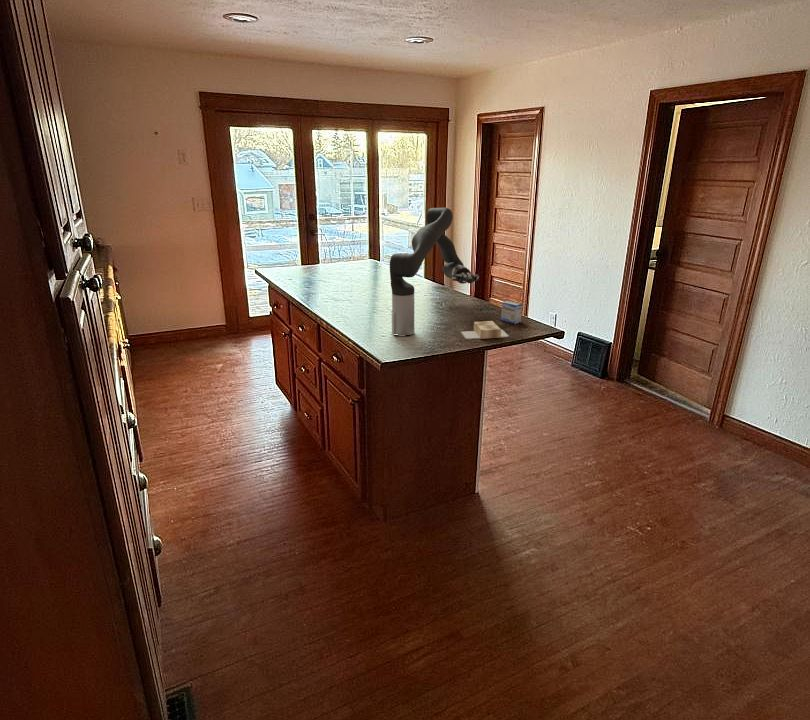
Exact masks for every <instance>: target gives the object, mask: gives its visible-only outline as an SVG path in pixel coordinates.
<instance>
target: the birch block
mask: <svg viewBox="0 0 810 720" xmlns="http://www.w3.org/2000/svg"><path fill="white" fill-rule="evenodd" d="M501 330H502V329H501V328H500V327H499V326H498V325H497V324H496V323H495V322H494V321H493V320H487V321H473V331H475V332H476V333H477V334H478V335H479V336H480V338H481V339H483V340H484V339H499V338H500V339H501V338H502V337H501Z"/></svg>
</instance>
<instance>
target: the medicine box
mask: <svg viewBox="0 0 810 720" xmlns="http://www.w3.org/2000/svg"><path fill="white" fill-rule="evenodd" d="M522 311H523V303H519V302H514V301H511V300H505V301H502V303H501V317H500V320H502V321H501V322H504V321H505V323H509V322H510V324H513V323H514V325H517V324H519V322H520V323H521V321H522ZM516 323H517V324H516Z"/></svg>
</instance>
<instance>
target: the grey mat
mask: <svg viewBox="0 0 810 720" xmlns="http://www.w3.org/2000/svg"><path fill="white" fill-rule="evenodd" d="M460 334H461V335H462V336H463V337H464V339H465V340H478V339H479V340H480V339H481V338H480V336H479V335H478V334H477V333H476V332H475V331H474V330H469V331H468V330H467V331H460ZM509 337H510V335H509V334H508V333H506V332H505V330H503V329H501V338H509Z"/></svg>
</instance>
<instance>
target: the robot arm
mask: <svg viewBox="0 0 810 720" xmlns="http://www.w3.org/2000/svg"><path fill="white" fill-rule="evenodd" d="M453 218H454V216H453V211H452V210H451V209H450V208H448V207H432V208H431V207H430V208H428V210H427V212H426V216H425V219H426V225H424V226H422V227H421V228H419V229H418V230H417V232H416V233H415V234H414V235H413V237H412V239H411V248H412V250H413V252H412V253H399V252H398V253H396V252H395V253H393V254H392V255H391V257H390V260H389V274H390V275H389V276H390V289H391V333H392V332H393V333H392V335H393V334H398V335H411V334H413V335H414V334H415V287H414V285H413V284H411V283H409V282H408V281H406V280H405V279H404V278H413V277H415V276H416V275H417V273H418V272H419V270H420V268H421V266H422V264H423V262H424V260H425V259H426V257H427V255H428V254H429V253H430V251H432V249H433V247H435V245H436V243H437V245H438V247H439V251H440V254H441V256H442V257H441V258H442V260H443V262H444V263H446V264H444V265H443V267H442V273H443V274H444V276H445V277H446V278H449V279H452V281H454V282H457V283H459V284H462V285H463V284H464V285H465V284H473V283H475V282H478V281H479V278H480V275H479V274H478V273H477V274H476V273H475V274H473V273H472V272H471V271H470V269H469V268H467V266H465V265H464V263H463V262H462V260H461V259H460V257H459V255H458V254H457V250H456V247H455V245H454V243H453V241H452V240H451V239H450V238H449V237H448V236H447V235H446V234H445V232H446V231H448V229H450V228H449V227H451V225H452V222H453ZM411 336H412V335H411Z"/></svg>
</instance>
